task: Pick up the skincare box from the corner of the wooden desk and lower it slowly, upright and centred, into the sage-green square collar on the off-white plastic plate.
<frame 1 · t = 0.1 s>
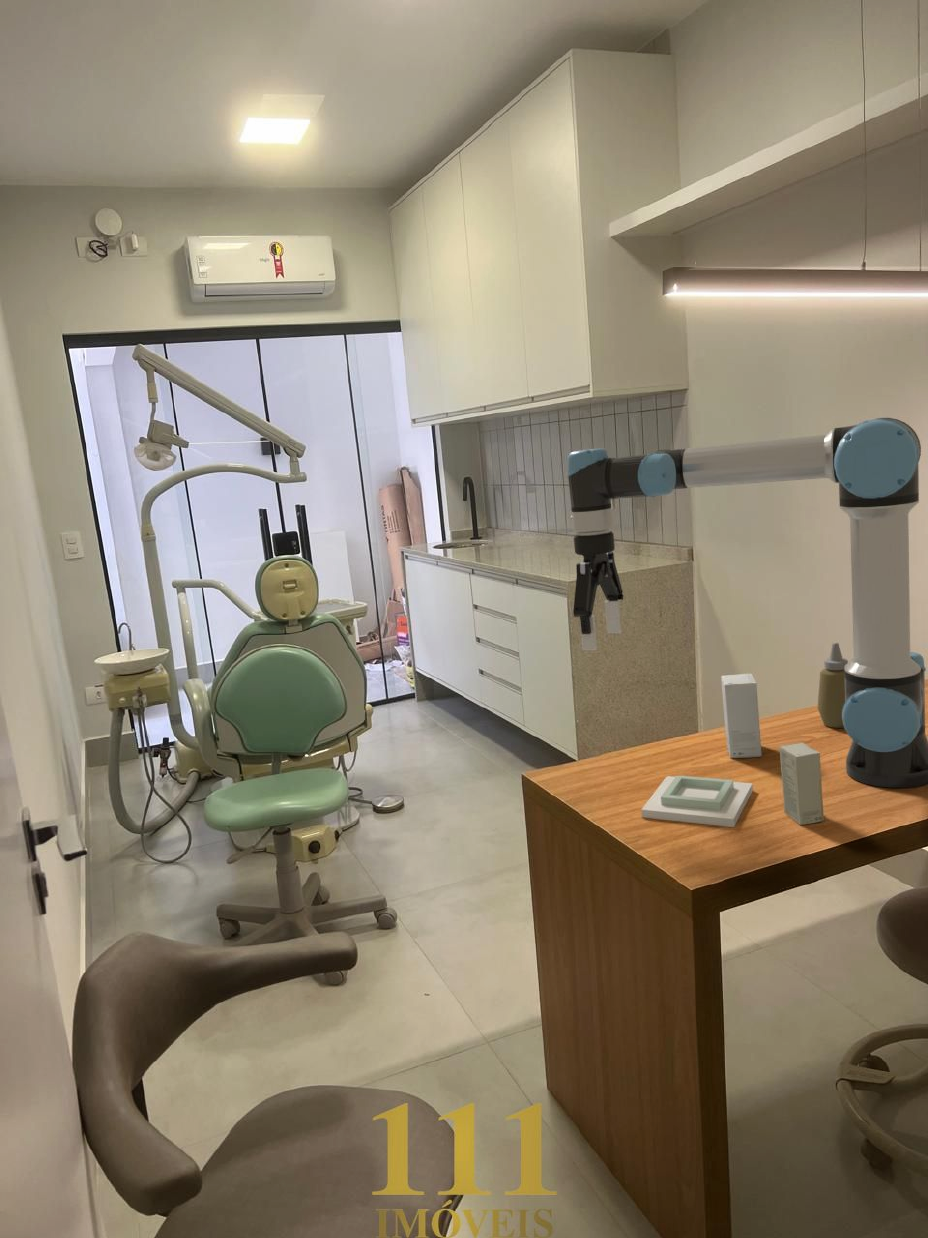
hand: (602, 641, 173), 28 cm above the table, tool pointing down, fingers open, 13 cm apart
skincare box 2: (742, 752, 185), on the table
collar plate: (698, 804, 162), on the table
skincare box: (802, 818, 152), on the table
squeeze bottle: (838, 725, 194), on the table
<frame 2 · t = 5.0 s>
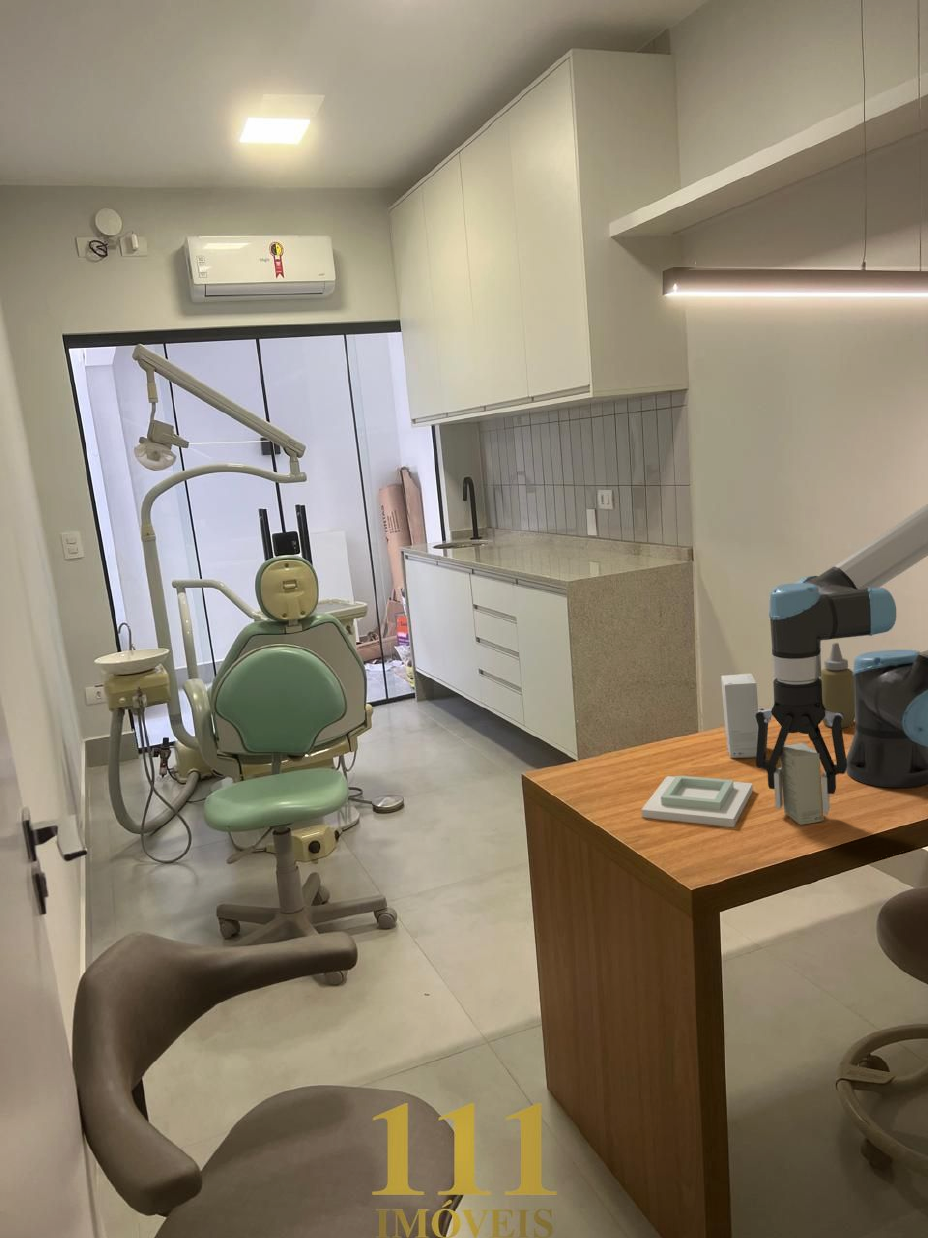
hand: (802, 808, 152), 2 cm above the table, tool pointing down, fingers closed on skincare box, 7 cm apart
skincare box: (802, 818, 152), on the table, touching gripper
everything else where it was.
when the fingers open (4 cm above the table, at t = 11.6 s): skincare box stays where it is, resting on collar plate.
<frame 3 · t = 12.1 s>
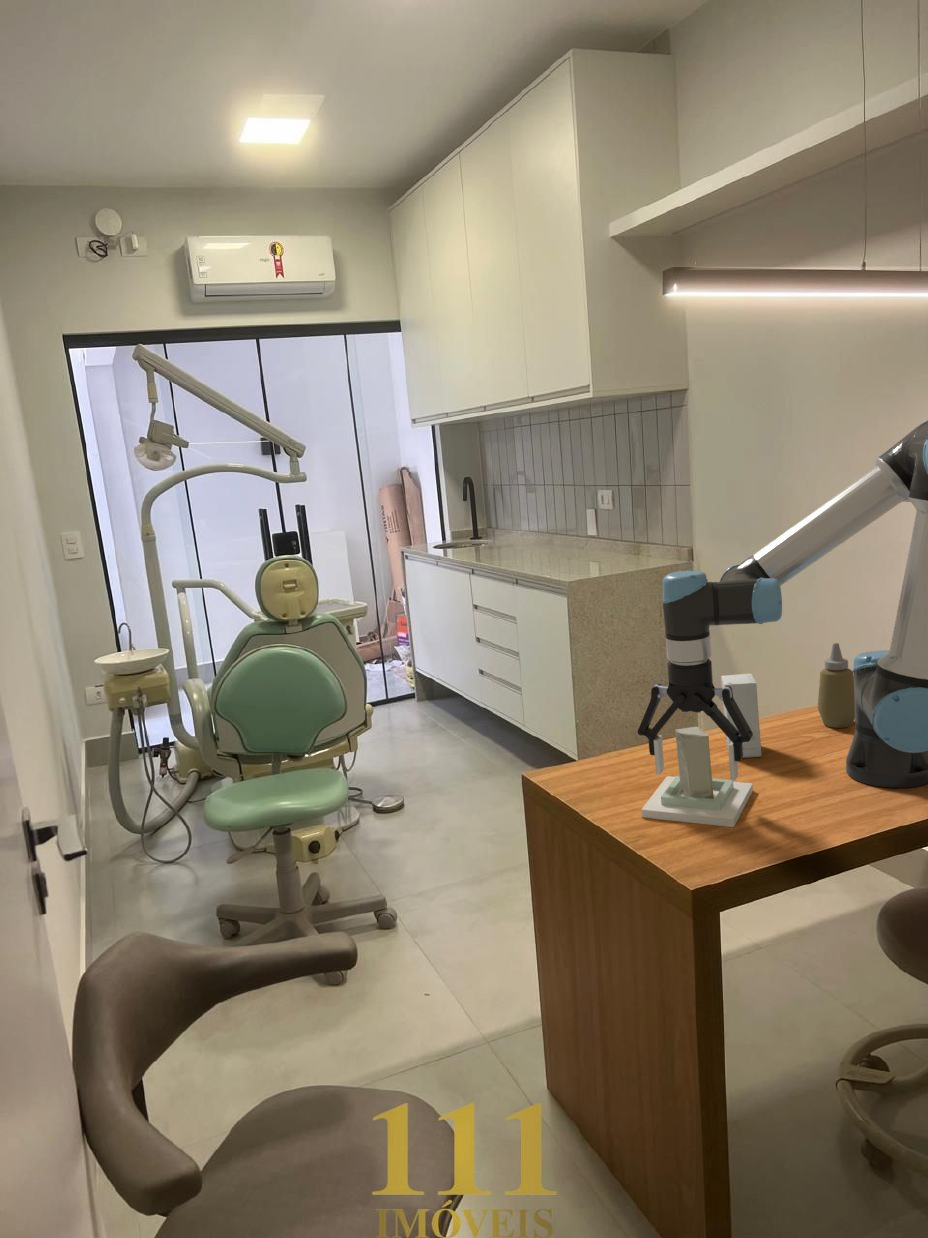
hand: (696, 774, 161), 6 cm above the table, tool pointing down, fingers open, 13 cm apart
skincare box: (696, 797, 162), point 1 cm above the table, touching collar plate
everything else where it was.
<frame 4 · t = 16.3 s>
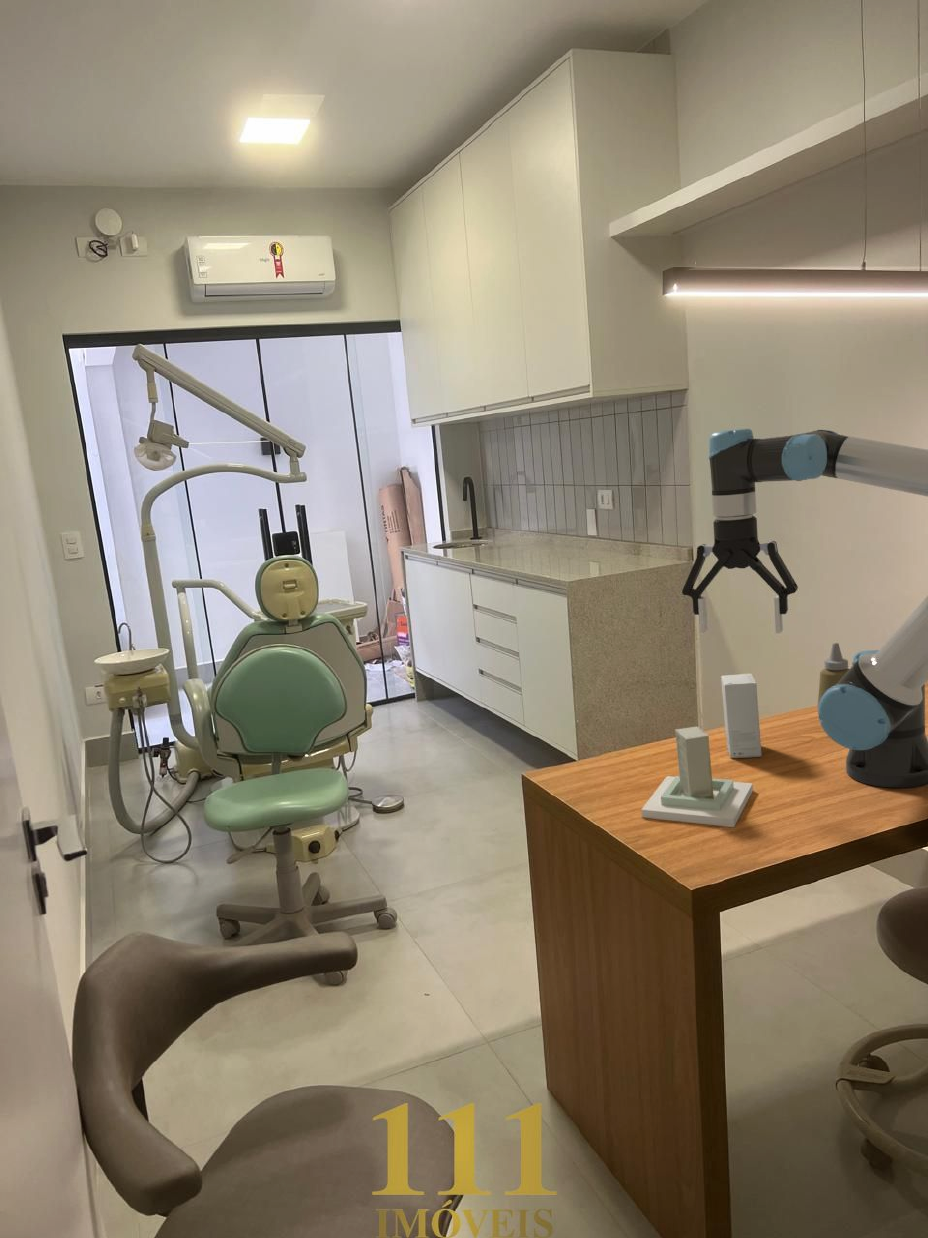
hand: (740, 631, 166), 29 cm above the table, tool pointing down, fingers open, 13 cm apart
nothing on the table moved.
at the end: skincare box 0.3 cm off-centre on the collar plate, point 1.3 cm above the collar plate's base; skincare box tilted 0°; the gripper is holding nothing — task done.
